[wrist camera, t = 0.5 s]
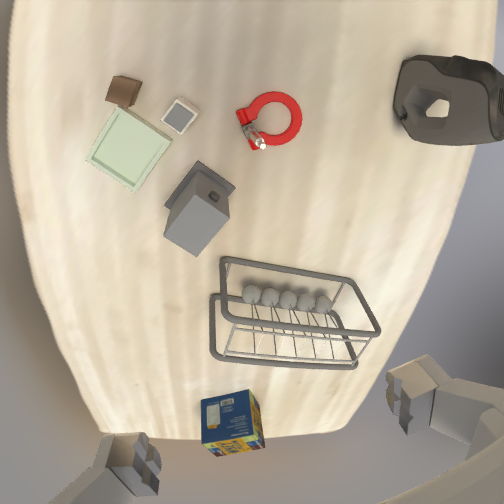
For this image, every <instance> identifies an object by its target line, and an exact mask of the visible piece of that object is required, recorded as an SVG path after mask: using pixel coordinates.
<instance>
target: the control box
mask: <svg viewBox="0 0 504 504" xmlns="http://www.w3.org/2000/svg"><path fill="white" fill-rule="evenodd" d="M234 189H235V187H234V186H233V185H232V184H230V183H229V182H228V181H226V180H225V179H223V178H222V177H221V176H219V175H218V174H216V173H215V172H214V171H212V170H211V169H209V168H208V167H207V166H205V165H204V164H202V163H201V162H200V161H197V162H196V164H195V165H194V166H193V168H192V169H191V170H190V171H189V173H188V174H187V175H186V177H185V178H184V179H183V181H182V182H181V183H180V185H179V186H178V187H177V189H176V190H175V191H174V193H173V194H172V195H171V197H170V198H169V199H168V201H167V202H166V204H165V205H164V206H166V207H167V208H169V209H170V214H169V217H168V221H167V224H166V228H165V231H164V235H163V236H164V237H165V238H167V239H168V240H170V241H172V242H173V243H175V244H176V245H178V246H180V247H181V248H183V249H184V250H186V251H188V252H189V253H191V254H192V255H194V256H196V257H197V256H198V255H199V254H200V253H201V251H202V250H203V249H204V248H205V247H206V246H207V244H208V243H209V242H210V241H211V240H212V238H213V237H214V236H215V235H216V234H217V233H218V231H219V230H220V229H221V228H222V227H223V226H224V224H225V223H226V222H227V221H228V220H229V219H230V215H229V204H228V197H229V195H230V194H231V193H232V192H233V191H234Z"/></svg>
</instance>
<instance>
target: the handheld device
mask: <svg viewBox="0 0 504 504" xmlns="http://www.w3.org/2000/svg"><path fill="white" fill-rule="evenodd" d="M437 99H442V100H446V101H449V112H448V116H447V117H442V118H441V117H427V116H426V110H427V109H428V108H429V107H430V106H431V105H432V104H433V103H434V102H435V101H436V100H437ZM394 109H395V111H396V113H397V115H398V117H399V119H400V120H401V122H402V124H403V126H404V128H405V130H406V131H407V133H408V134H409V136H410V137H411V138H412V139H413V140H416V141H419V142H422V143H428V144H435V145H449V146H462V145H477V144H484V143H491V142H497V141H501V140H503V139H504V75H502V74H501V73H500V72H499V71H498V70H497V69H496V68H494V67H493V66H492V65H491V64H489V63H487V62H485V61H478V60H471V59H468V58H465V57H462V56H456V55H455V56H452V57H443V56H430V55H416V56H414V57H413V58H411V59H410V60H405V61H403V63H402V69H401V72H400V76H399V80H398V85H397V89H396V94H395V100H394Z"/></svg>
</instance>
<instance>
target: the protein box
mask: <svg viewBox="0 0 504 504" xmlns="http://www.w3.org/2000/svg"><path fill="white" fill-rule="evenodd" d="M201 439H202V445H203V446H205V447H206V448H207V449H208V450H209V451H211V452H212V453H213V454H214V455H215V456H217V457H218V456H223V455H230V454H235V453H241V452H246V451H251V450H256V449H261V448H265V443H264V436H263V429H262V422H261V414H260V407H259V404H258V403H257V401H256V399H255V398H254V396H253V395H252V393H251V392H250V390H249V389H248V390H244V391H240V392H236V393H231V394H227V395H222V396H218V397H213V398H208V399H203V400H201Z"/></svg>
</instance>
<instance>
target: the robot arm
mask: <svg viewBox="0 0 504 504" xmlns="http://www.w3.org/2000/svg"><path fill="white" fill-rule="evenodd" d="M386 381H387V383H388V384H389V386H388V388H387V389H386V398H387V402H388V405H389V407H390V409H391V411H392V413H393V414H394V415H396V416H399V424H400V426H401V427H402V428H403V430H404V432H405V433H406V435H407V436H408V435H411V434H413V433H415V432H418V431H420V430H422V429H424V428H426V427H429V426H430V427H431V428H432V429H435V430H437V431H439V432H441V433H443V434H445V435H448V436H450V437H452V438H454V439H456V440H459V441H461V442H463V443H465V444H468V445H470V448H469V451H468V454H467V456H466V459H465V461H464V462H462V463H461V464H459V465H457V466H455V467H454V468H452V469H450V470H448V471H446V472H445V473H443V474H441V475H439V476H437V477H435V478H433V479H432V480H429V481H427V482H425V483H423V484H421V485H419V486H417V487H415V488H413V489H411V490H409V491H407V492H404V493H402V494H400V495H397V496H395V497H392V498H390V499H388V500H385V501H383V502H380V503H378V504H504V389H500V388H495V387H491V386H487V385H482V384H478V383H474V382H470V381H466V380H461V379H457V378H455V379H453V380H452V379H451V378H450V377H449V376H448V374H447V373H445V371H444V370H443V369H442V368H441V367H440V366H439V365H438V364H437V363H436V362H435V361H434V360H433V359H432V358H431V357H430V356H429V355H424V356H422V357H419V358H417V359H415V360H413V361H410V362H408V363H406V364H403V365H401V366H399V367H396V368H394V369H391V370H389V371H387V373H386ZM160 471H161V458H160V455H159V452H158V451H157V449H156V448H155V447H154V446H152V445H150V444H149V438H148V436H147V435H146V434H145V433H144V432H136V433H120V434H105V435H104V436H103V437H102V440H101V442H100V445H99V448H98V451H97V454H96V457H95V460H94V463H93V466H92V467H89V468H88V469H87V470H86V471H84V472H83V473H82V474H81V475H80V476H78V478H76V479H75V480H74V481H73V482H72V483H70V484H69V485H68V486H67V487H66V488H65V489H64V490H63V491H61V492H60V493H59V494H58V495H57V496H55V497H54V498H53V499H52V500H51V501H49V503H48V504H132V503H133V501H134V500H135V499H136V497H138V496H157V495H158V489H159V479H158V478H157V477H156V476H157V475H158V474H159V472H160Z"/></svg>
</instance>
